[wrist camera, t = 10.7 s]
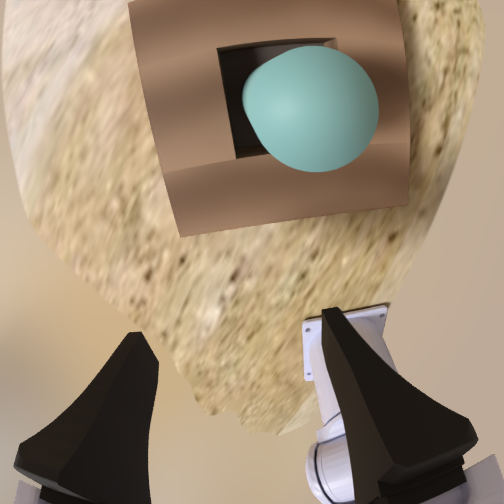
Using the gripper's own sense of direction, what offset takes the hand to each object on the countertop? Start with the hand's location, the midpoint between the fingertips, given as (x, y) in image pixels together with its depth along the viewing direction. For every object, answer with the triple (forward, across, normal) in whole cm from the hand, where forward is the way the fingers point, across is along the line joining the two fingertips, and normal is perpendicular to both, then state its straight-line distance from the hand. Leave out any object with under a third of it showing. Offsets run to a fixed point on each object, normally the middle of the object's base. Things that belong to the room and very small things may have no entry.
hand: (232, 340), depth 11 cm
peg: (+10, -4, -8) cm, 13 cm away
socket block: (+10, -4, -8) cm, 14 cm away
